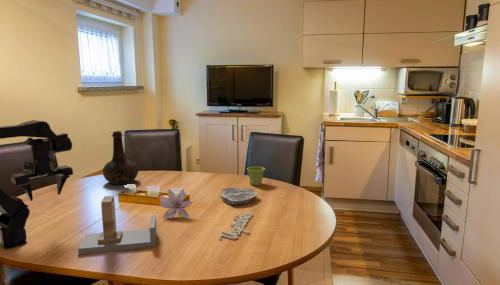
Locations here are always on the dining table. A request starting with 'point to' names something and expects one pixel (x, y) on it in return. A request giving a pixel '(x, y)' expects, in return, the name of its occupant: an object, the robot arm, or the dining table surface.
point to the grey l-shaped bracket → (128, 240)
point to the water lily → (175, 204)
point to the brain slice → (237, 195)
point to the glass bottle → (119, 164)
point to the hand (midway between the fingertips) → (45, 197)
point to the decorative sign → (237, 227)
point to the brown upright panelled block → (109, 222)
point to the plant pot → (255, 175)
